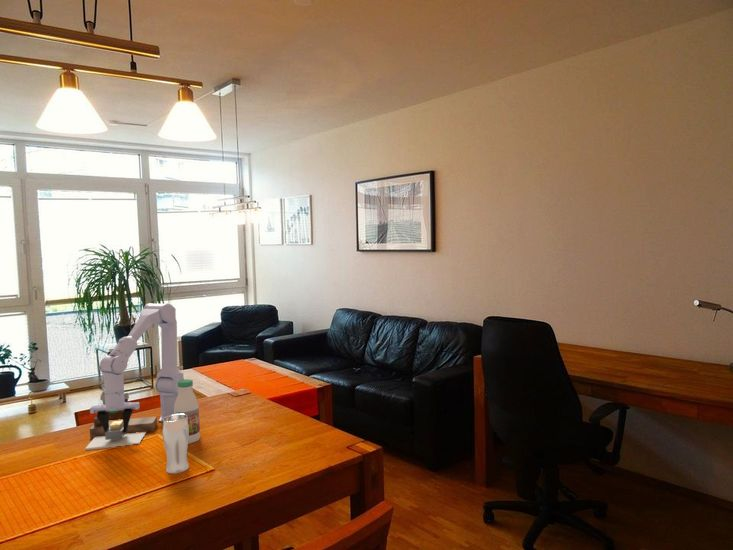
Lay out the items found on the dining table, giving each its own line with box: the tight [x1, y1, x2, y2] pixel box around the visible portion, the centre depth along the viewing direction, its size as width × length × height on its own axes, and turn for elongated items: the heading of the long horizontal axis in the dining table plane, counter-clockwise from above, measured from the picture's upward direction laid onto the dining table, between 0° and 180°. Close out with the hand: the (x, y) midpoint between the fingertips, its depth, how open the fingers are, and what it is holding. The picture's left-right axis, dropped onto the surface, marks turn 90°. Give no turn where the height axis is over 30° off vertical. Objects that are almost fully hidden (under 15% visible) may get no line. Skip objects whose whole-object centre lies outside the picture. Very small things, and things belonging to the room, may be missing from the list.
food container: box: [99, 391, 130, 420], centre depth 183 cm, size 12×6×10 cm, turn 62°
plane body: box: [89, 415, 158, 438], centre depth 170 cm, size 20×7×6 cm, turn 103°
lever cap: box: [105, 420, 128, 440], centre depth 161 cm, size 5×7×4 cm
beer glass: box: [162, 414, 190, 475], centre depth 138 cm, size 7×7×15 cm
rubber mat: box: [84, 432, 147, 451], centre depth 161 cm, size 16×10×1 cm, turn 103°
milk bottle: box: [174, 378, 201, 445], centre depth 160 cm, size 8×8×20 cm
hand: (116, 432), depth 161 cm, fingers closed on lever cap, 5 cm apart
